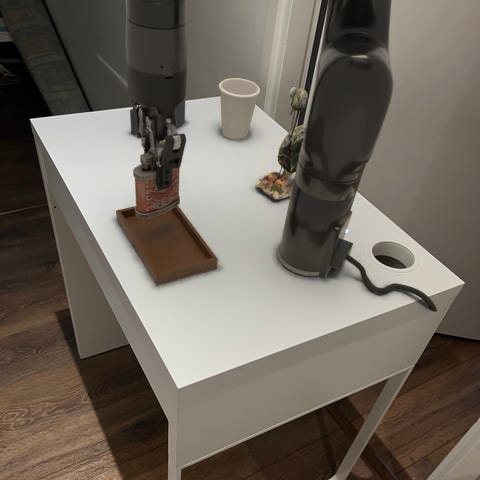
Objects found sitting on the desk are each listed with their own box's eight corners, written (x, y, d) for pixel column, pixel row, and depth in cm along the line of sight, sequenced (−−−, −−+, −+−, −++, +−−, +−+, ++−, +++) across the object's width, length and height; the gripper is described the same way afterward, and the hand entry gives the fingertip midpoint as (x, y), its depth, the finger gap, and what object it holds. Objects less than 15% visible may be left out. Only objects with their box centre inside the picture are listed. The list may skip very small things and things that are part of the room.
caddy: (184, 122, 109) (185, 100, 106) (156, 143, 102) (155, 119, 99) (160, 114, 111) (160, 91, 107) (131, 133, 104) (129, 110, 100)
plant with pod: (316, 190, 97) (343, 86, 82) (270, 205, 92) (290, 96, 77) (291, 169, 101) (312, 66, 86) (245, 182, 96) (259, 75, 81)
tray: (216, 268, 79) (217, 258, 77) (156, 285, 75) (156, 275, 73) (172, 207, 88) (172, 197, 87) (116, 220, 84) (115, 210, 83)
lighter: (144, 222, 76) (141, 163, 69) (130, 211, 77) (127, 152, 70) (184, 203, 80) (186, 146, 73) (171, 193, 82) (171, 136, 74)
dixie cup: (236, 120, 113) (240, 74, 105) (261, 136, 109) (268, 90, 102) (207, 129, 108) (210, 82, 101) (233, 146, 105) (238, 99, 97)
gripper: (108, 39, 65) (117, 159, 77) (150, 86, 57) (153, 210, 70) (162, 35, 68) (162, 151, 80) (209, 79, 60) (201, 200, 73)
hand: (158, 178), depth 75 cm, fingers closed on lighter, 4 cm apart
